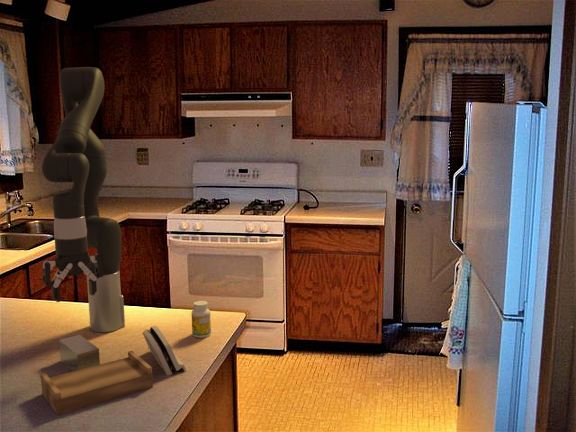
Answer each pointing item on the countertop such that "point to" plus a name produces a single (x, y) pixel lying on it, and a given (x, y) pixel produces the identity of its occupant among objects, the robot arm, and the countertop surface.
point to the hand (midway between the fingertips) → (75, 297)
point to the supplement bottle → (201, 320)
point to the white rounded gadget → (162, 350)
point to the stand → (96, 383)
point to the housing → (78, 353)
